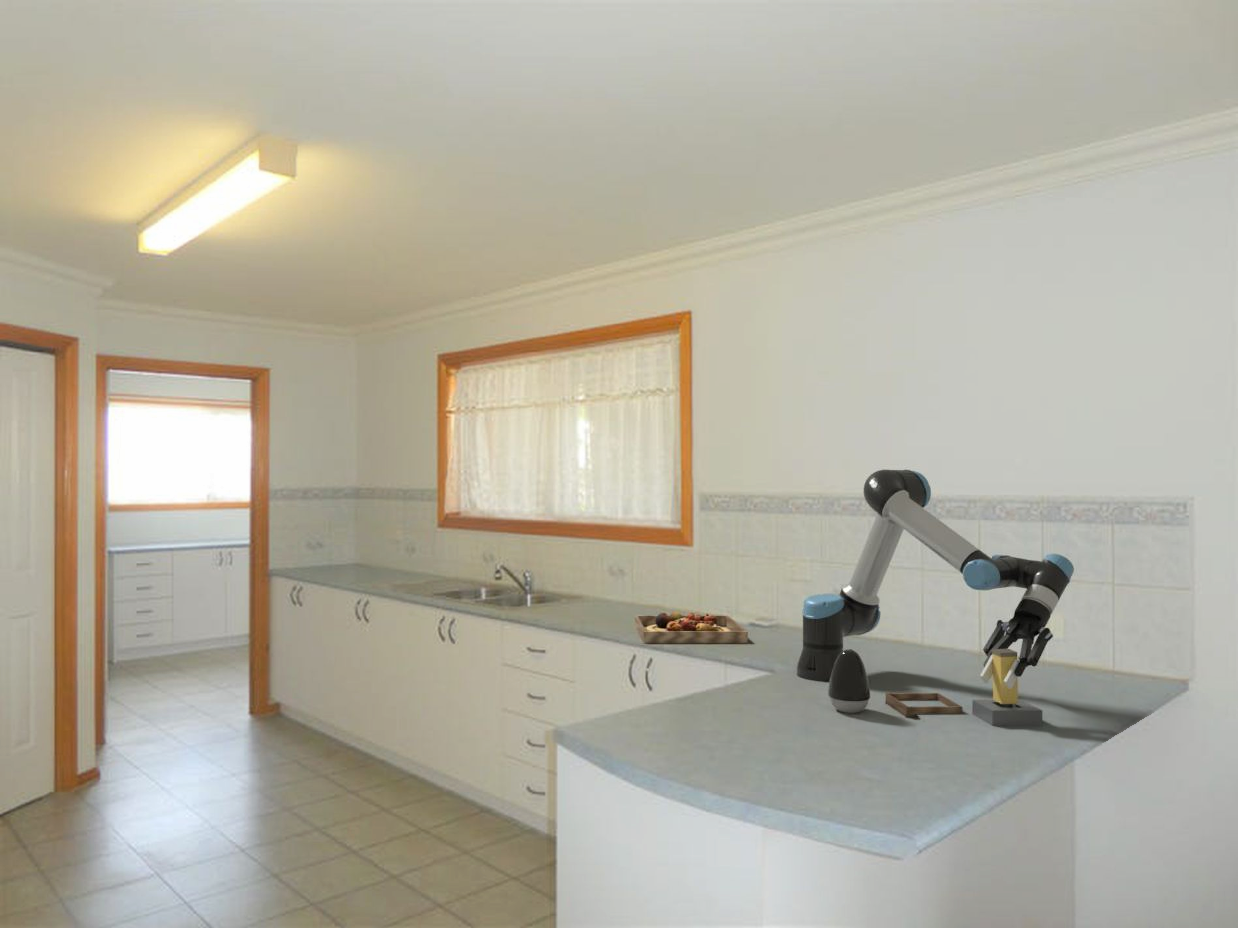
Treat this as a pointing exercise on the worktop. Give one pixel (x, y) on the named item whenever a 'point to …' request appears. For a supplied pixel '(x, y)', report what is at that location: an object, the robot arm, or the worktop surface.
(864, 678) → the black egg shaped container
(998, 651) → the plug
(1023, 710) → the grey block with hole
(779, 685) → the worktop surface
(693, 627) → the wooden plate with food
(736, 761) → the worktop surface
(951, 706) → the tray
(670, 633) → the wooden fruit tray
